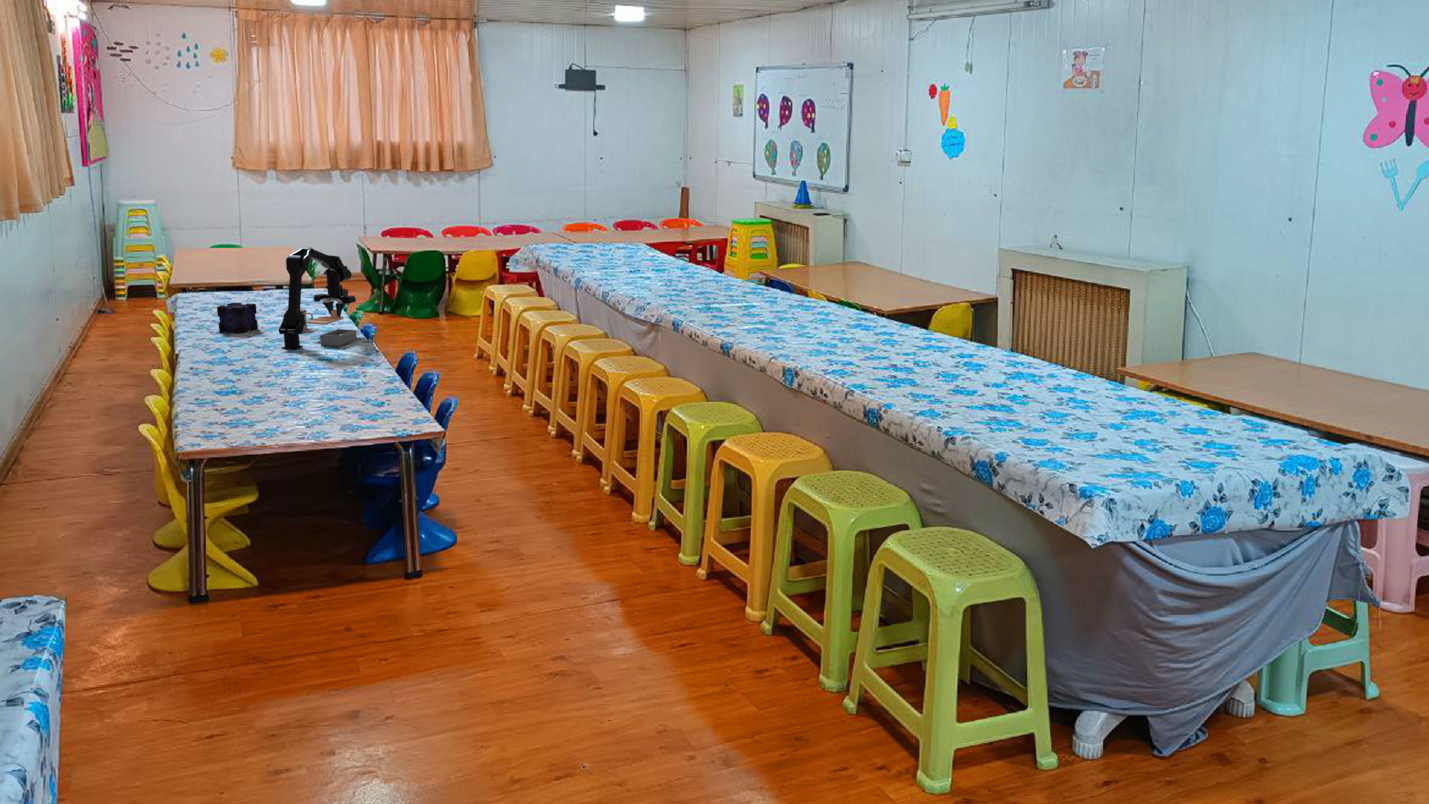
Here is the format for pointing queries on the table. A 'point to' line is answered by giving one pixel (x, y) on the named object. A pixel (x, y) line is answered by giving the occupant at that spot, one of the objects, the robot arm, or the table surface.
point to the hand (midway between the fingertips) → (335, 317)
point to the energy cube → (237, 318)
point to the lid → (326, 319)
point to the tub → (338, 338)
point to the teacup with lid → (305, 317)
